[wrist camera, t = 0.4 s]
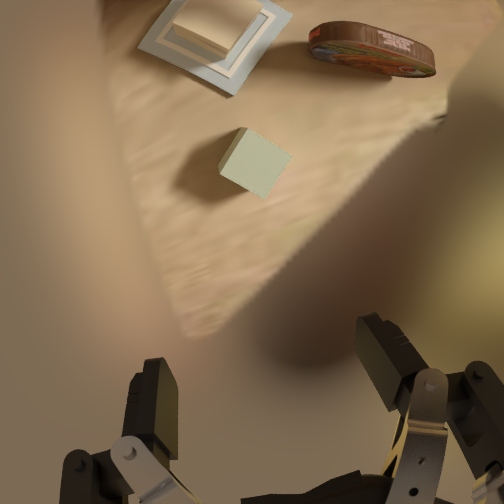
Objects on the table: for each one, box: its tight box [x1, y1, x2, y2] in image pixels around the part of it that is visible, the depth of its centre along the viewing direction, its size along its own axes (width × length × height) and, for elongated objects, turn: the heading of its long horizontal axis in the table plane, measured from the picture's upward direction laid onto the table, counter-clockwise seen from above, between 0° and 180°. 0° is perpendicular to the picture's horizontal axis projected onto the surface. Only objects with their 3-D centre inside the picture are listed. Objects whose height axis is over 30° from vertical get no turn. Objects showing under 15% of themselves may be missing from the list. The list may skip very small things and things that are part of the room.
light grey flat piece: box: [137, 0, 293, 96], centre depth 24 cm, size 12×12×1 cm
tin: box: [308, 21, 436, 78], centre depth 24 cm, size 15×3×8 cm, turn 89°
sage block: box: [217, 127, 292, 199], centre depth 29 cm, size 5×5×5 cm
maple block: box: [172, 0, 264, 59], centre depth 22 cm, size 6×6×4 cm
